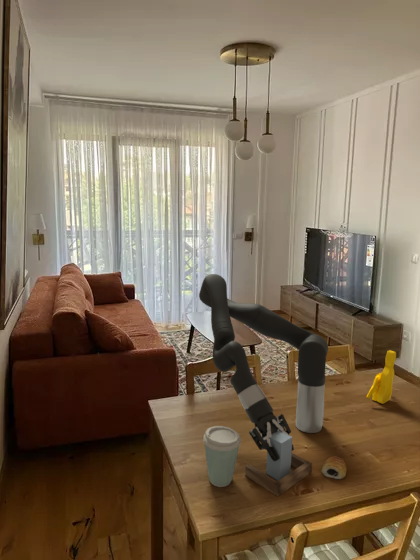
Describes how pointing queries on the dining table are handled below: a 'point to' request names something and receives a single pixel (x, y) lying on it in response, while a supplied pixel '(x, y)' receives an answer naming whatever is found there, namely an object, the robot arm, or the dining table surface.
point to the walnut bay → (287, 481)
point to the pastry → (334, 468)
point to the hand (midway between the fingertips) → (284, 455)
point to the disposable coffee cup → (221, 454)
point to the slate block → (284, 451)
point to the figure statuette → (384, 380)
